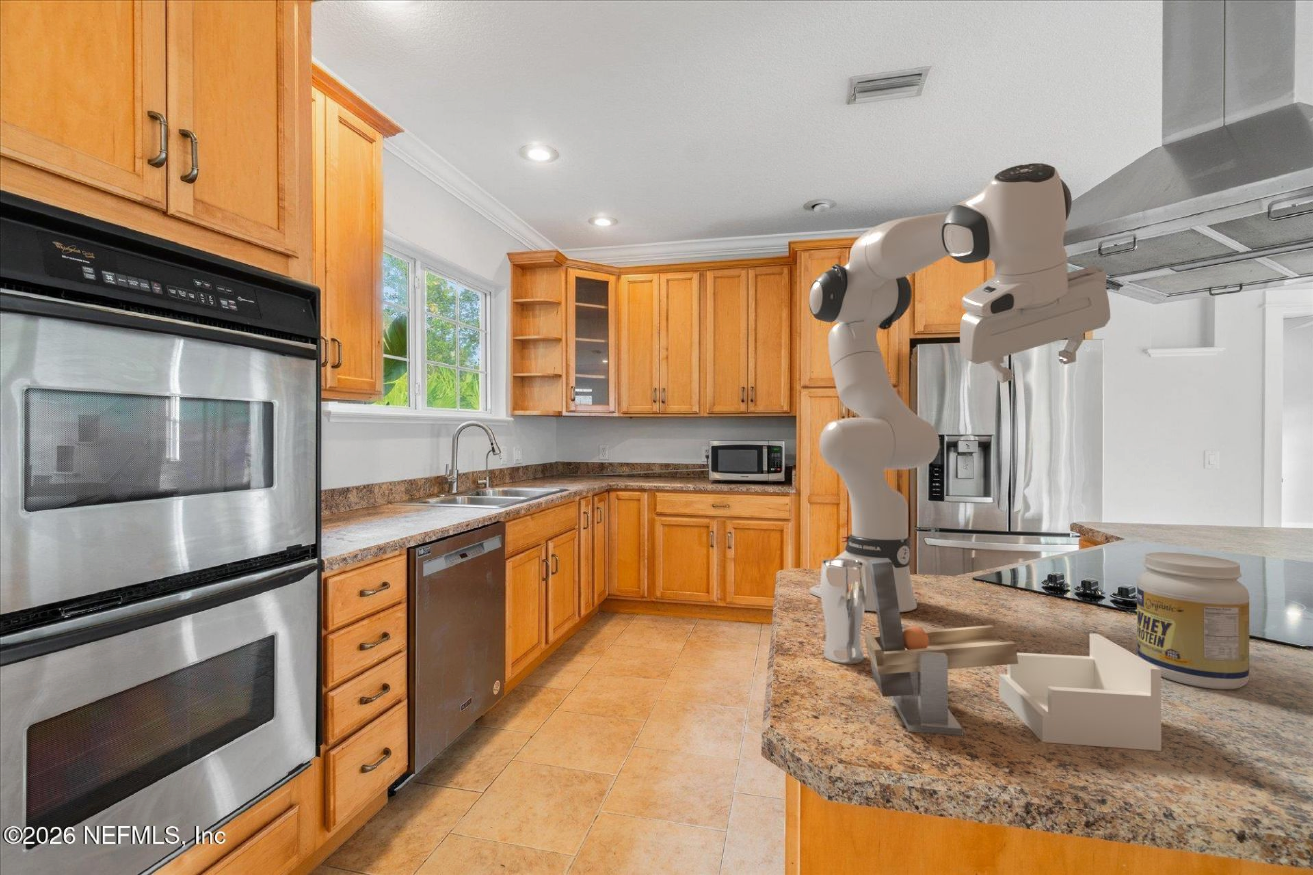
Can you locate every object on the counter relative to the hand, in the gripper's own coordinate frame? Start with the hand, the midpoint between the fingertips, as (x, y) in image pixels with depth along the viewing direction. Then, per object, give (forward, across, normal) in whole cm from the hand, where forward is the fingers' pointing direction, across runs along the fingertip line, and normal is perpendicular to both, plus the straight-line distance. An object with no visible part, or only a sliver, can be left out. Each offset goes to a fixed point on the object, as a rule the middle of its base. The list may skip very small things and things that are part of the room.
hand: (1035, 371), depth 90 cm
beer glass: (+32, +41, +15) cm, 54 cm away
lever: (+23, +31, +31) cm, 50 cm away
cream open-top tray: (+29, +18, +35) cm, 49 cm away
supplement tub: (+43, -6, +23) cm, 49 cm away
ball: (+17, +33, +28) cm, 47 cm away
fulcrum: (+25, +35, +32) cm, 54 cm away
